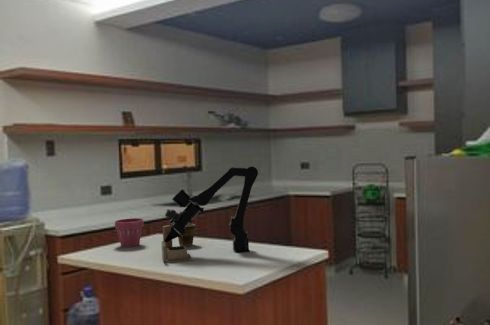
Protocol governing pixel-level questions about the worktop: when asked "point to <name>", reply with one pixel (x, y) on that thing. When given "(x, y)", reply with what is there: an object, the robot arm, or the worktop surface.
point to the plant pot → (129, 231)
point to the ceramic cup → (187, 236)
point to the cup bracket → (175, 254)
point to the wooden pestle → (165, 233)
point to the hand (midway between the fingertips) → (164, 240)
